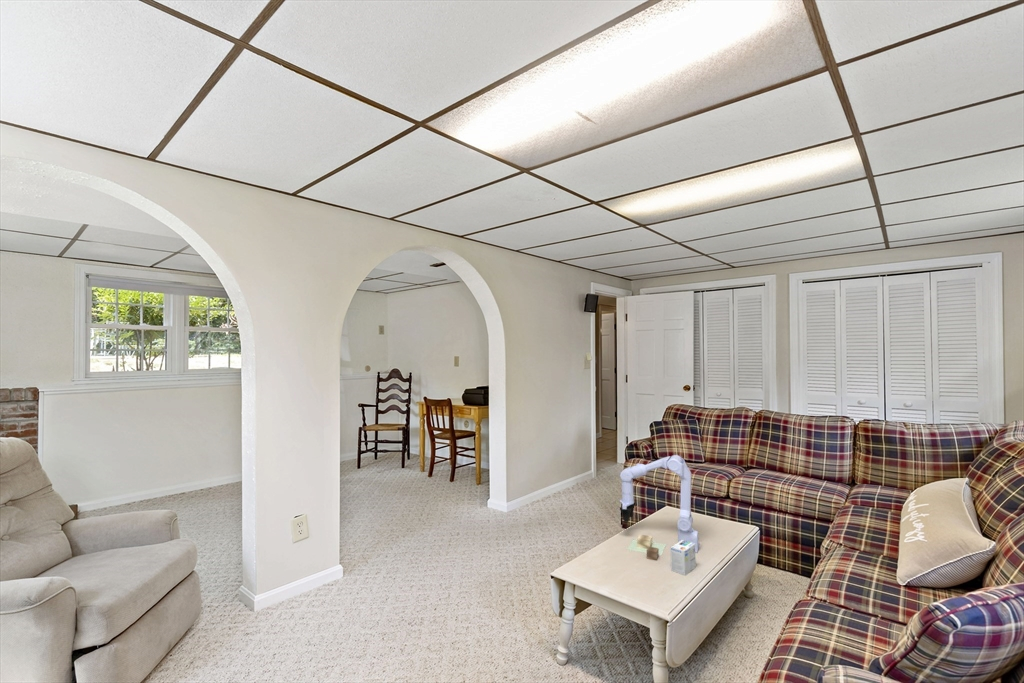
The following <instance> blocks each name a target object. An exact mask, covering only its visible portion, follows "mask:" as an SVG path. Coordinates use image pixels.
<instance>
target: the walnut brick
mask: <svg viewBox="0 0 1024 683" xmlns="http://www.w3.org/2000/svg"><path fill="white" fill-rule="evenodd" d="M659 557H660V555H659V549H658V548H654V547H648V549H647V553H646V560H651V561H658V559H659Z"/></svg>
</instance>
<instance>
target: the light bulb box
mask: <svg viewBox="0 0 1024 683" xmlns="http://www.w3.org/2000/svg"><path fill="white" fill-rule="evenodd" d="M696 562H697V561H696V552H695V543H691V542H688V541H684V540H680V541H679V542H678V541H677V542H676V543H675V544H673V545H672V546H670V567H671V569H670V570H671V572H672V573H673V572H674V573H677V574H679V575H683V576H686V575H688V574H689V573H691V572H692V571H693V570H694V569H696V566H697V564H696Z"/></svg>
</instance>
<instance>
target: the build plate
mask: <svg viewBox="0 0 1024 683" xmlns="http://www.w3.org/2000/svg"><path fill="white" fill-rule="evenodd" d="M666 546H667V543H660V542H653V541H652V546H651V547H654V548H658V549H659V556H662V554H663V552H664V551H665V548H666ZM626 551H631V552H632V551H633V552H637V553H643V554H647V549H646V548H640V547H637V538H636V539H634V538H633V539H632V541H631V542H630V543H629V545H628V547H627V549H626Z"/></svg>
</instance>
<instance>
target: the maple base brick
mask: <svg viewBox="0 0 1024 683" xmlns="http://www.w3.org/2000/svg"><path fill="white" fill-rule="evenodd" d="M636 540H637V547H640V548H646V549H648V547H651V546H652V542H653V536H651V535H646V534H639V535H638V537H637V538H636Z"/></svg>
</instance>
